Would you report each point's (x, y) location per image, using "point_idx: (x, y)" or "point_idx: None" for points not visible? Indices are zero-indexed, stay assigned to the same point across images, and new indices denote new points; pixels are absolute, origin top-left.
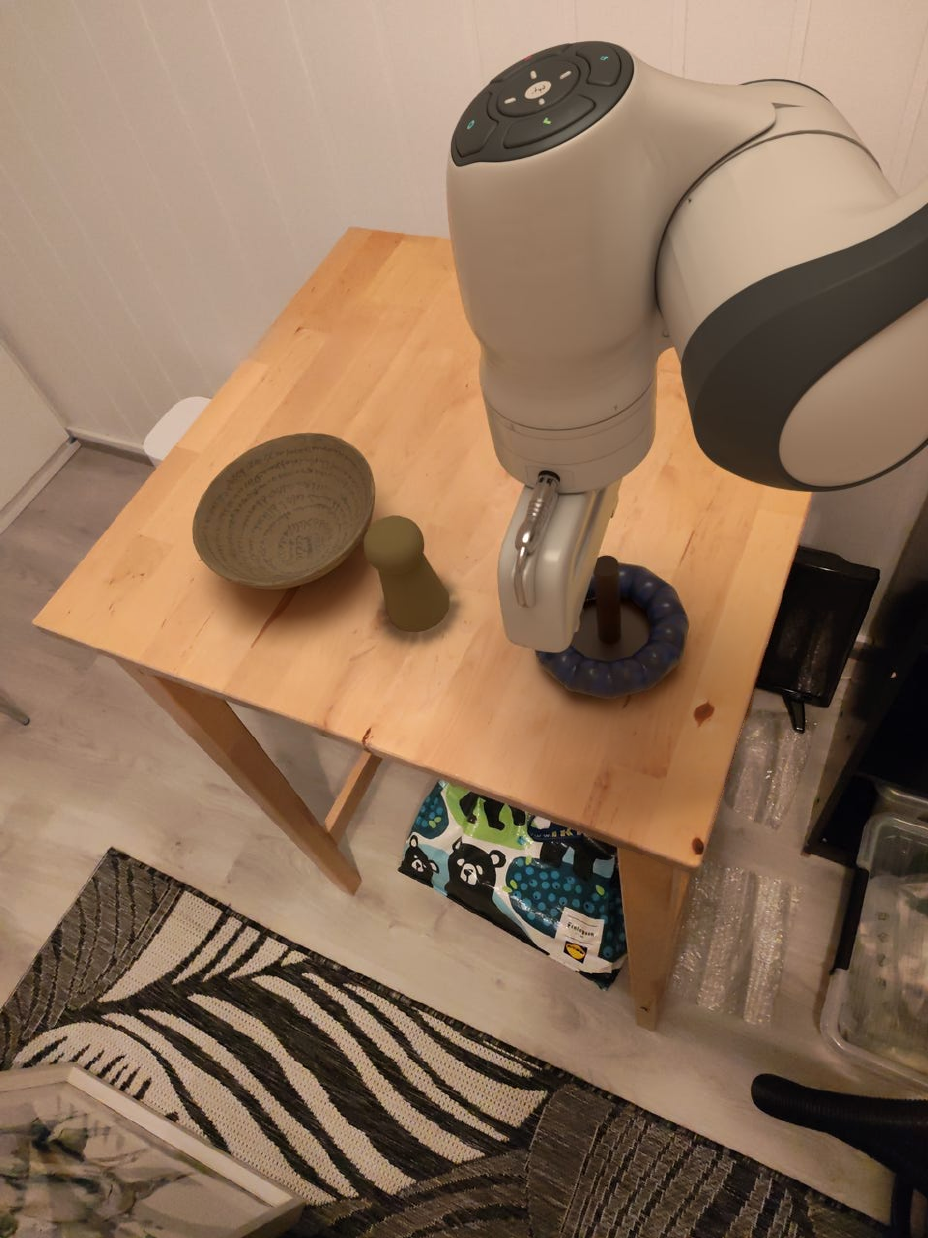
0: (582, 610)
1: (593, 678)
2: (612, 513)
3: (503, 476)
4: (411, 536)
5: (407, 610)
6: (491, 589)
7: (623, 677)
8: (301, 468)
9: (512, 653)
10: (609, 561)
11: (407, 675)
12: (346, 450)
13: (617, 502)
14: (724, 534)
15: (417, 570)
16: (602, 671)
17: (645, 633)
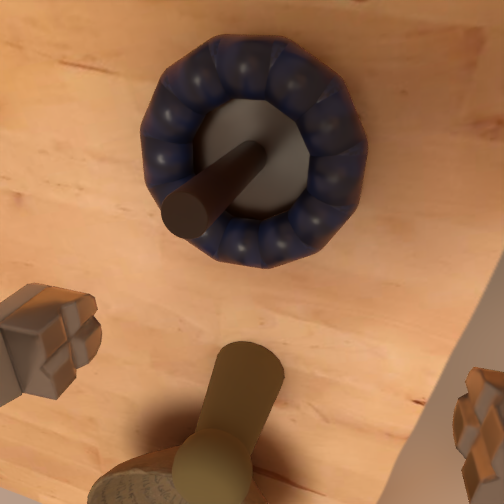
0: (498, 391)
1: (350, 176)
2: (75, 304)
3: None
4: (201, 471)
5: (271, 398)
6: (213, 301)
7: (343, 129)
8: (132, 502)
9: (295, 270)
10: (173, 211)
11: (340, 372)
12: (99, 489)
13: (34, 289)
14: (48, 11)
15: (233, 425)
16: (337, 165)
17: (240, 105)
